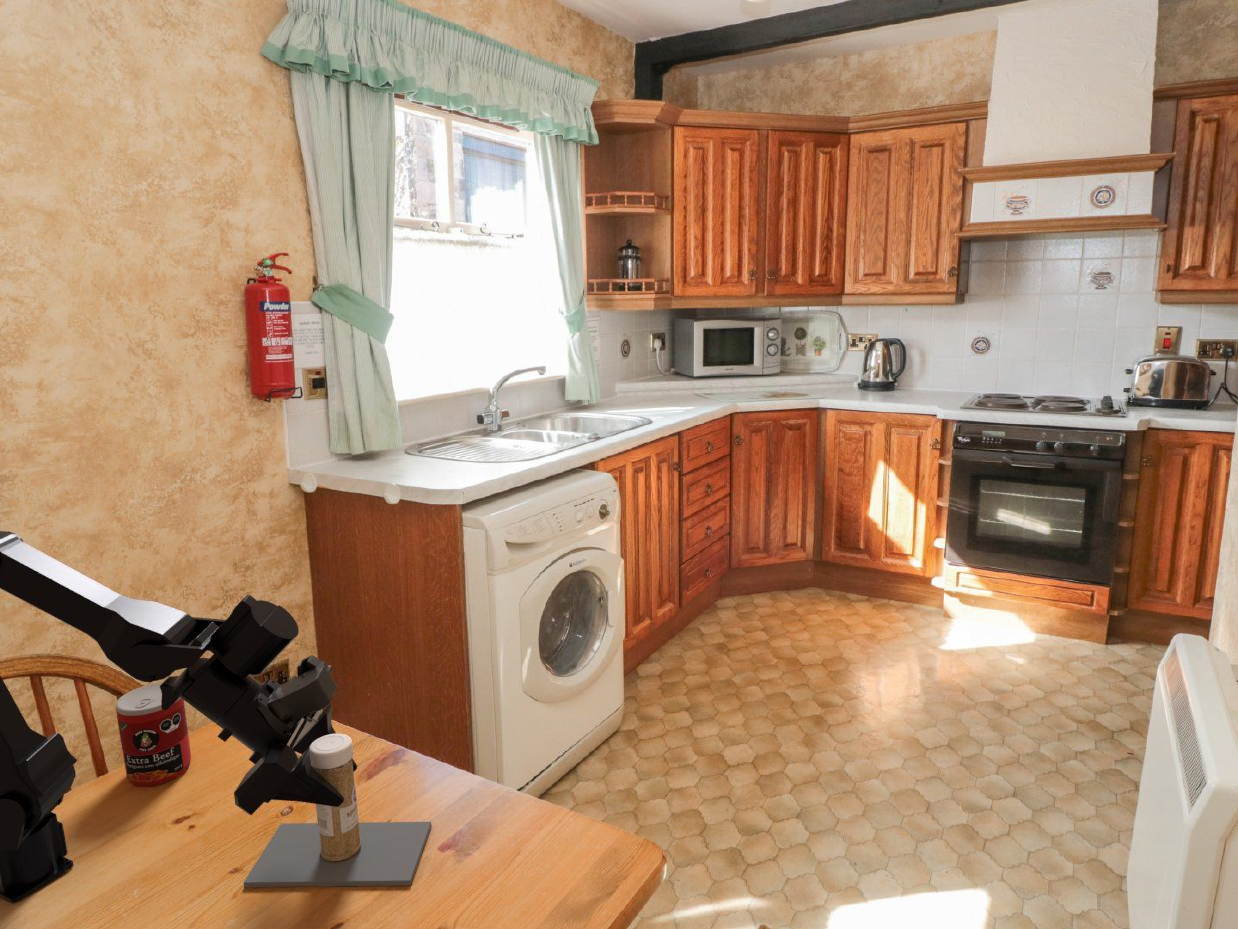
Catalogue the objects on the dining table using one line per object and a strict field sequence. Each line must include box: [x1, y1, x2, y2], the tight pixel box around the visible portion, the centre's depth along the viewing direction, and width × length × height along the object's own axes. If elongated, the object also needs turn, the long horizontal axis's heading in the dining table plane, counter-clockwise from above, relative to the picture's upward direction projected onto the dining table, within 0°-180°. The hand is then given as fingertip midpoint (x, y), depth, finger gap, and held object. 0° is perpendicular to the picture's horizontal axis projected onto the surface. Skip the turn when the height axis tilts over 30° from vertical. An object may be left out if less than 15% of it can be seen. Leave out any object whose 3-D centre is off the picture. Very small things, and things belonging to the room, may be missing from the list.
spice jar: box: [309, 733, 362, 861], centre depth 93 cm, size 5×5×13 cm
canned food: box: [115, 682, 192, 788], centre depth 110 cm, size 8×8×11 cm
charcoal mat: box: [243, 821, 432, 888], centre depth 94 cm, size 18×10×1 cm, turn 90°
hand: (348, 786), depth 92 cm, fingers open, 6 cm apart
